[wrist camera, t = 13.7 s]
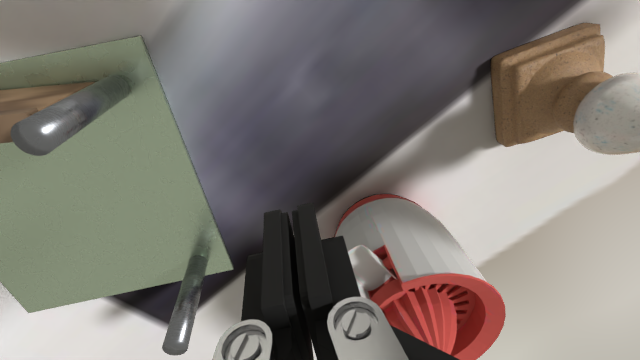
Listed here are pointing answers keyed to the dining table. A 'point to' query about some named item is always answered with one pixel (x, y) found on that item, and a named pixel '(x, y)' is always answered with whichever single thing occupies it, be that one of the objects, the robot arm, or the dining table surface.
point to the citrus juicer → (421, 276)
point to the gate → (30, 103)
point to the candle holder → (565, 93)
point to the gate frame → (103, 189)
